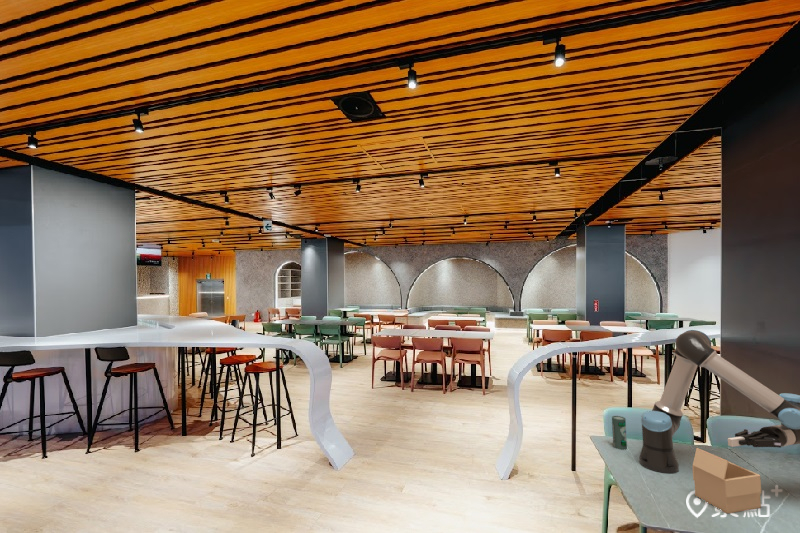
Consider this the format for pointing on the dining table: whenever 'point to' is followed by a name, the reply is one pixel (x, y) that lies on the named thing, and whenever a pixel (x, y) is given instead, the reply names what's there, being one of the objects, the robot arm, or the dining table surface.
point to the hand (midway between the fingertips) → (729, 442)
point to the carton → (729, 488)
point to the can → (619, 432)
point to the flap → (710, 463)
